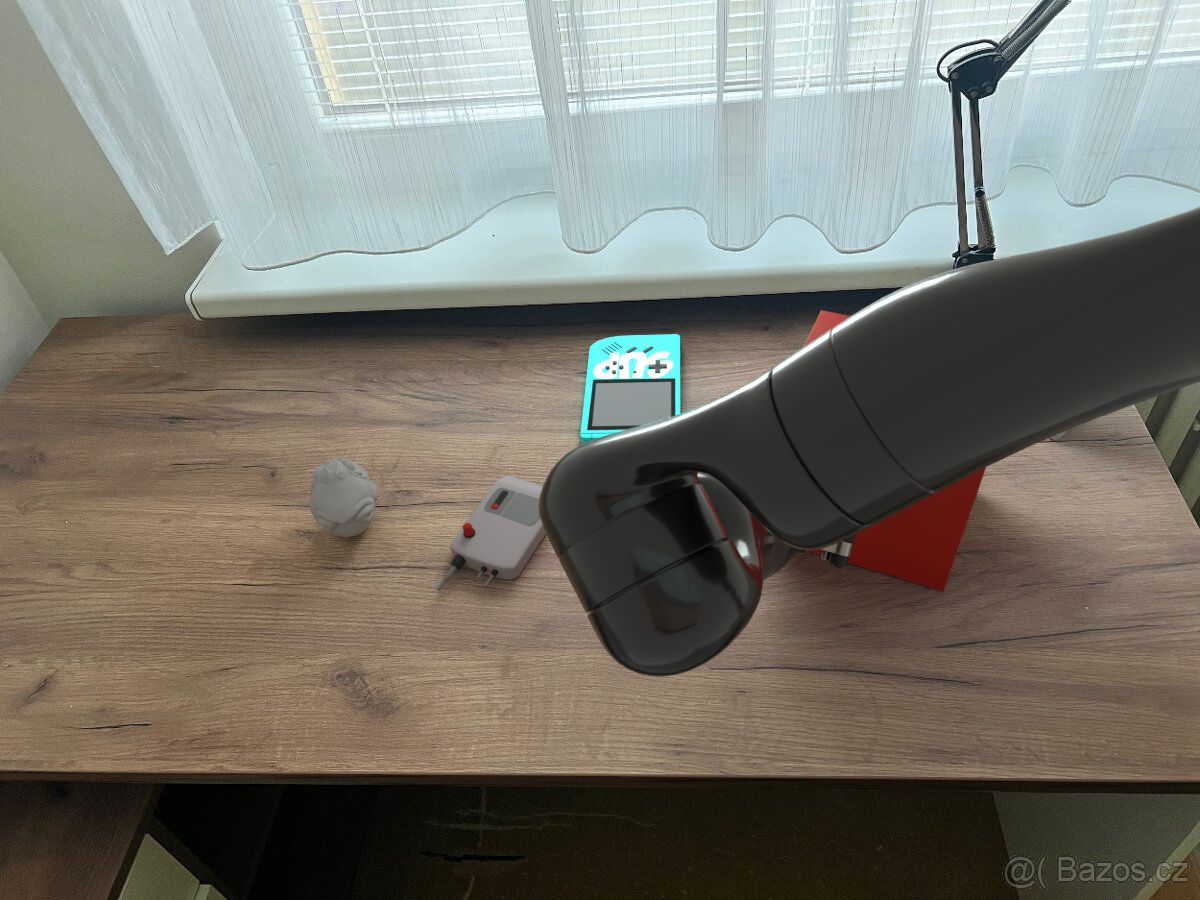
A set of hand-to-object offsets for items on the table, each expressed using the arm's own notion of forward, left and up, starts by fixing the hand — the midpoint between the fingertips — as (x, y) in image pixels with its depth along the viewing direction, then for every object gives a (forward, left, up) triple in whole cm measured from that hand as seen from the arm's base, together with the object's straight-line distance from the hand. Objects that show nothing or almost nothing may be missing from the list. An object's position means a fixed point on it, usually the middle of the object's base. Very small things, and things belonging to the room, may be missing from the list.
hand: (776, 514), depth 69 cm
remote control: (+23, +5, -7) cm, 25 cm away
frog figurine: (+37, +9, -7) cm, 39 cm away
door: (-6, -1, -7) cm, 9 cm away
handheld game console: (+20, -17, -7) cm, 27 cm away
